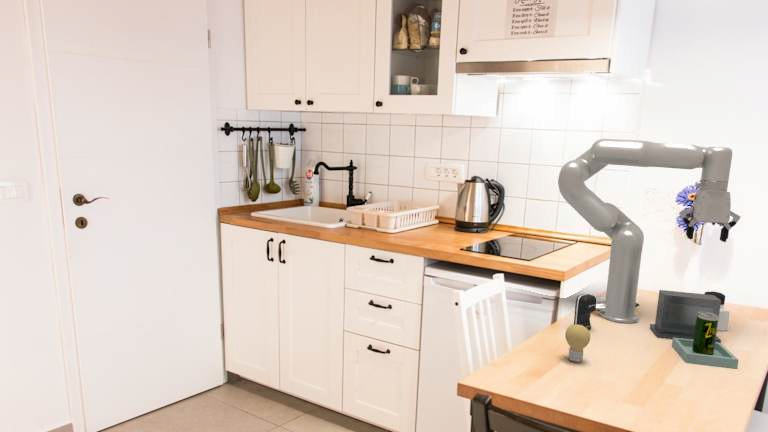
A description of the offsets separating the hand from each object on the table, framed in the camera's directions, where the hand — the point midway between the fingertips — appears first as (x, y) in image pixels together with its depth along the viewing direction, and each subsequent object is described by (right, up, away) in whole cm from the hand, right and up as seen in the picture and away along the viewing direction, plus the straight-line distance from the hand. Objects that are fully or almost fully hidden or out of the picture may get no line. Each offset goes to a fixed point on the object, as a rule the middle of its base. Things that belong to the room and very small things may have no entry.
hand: (706, 239), depth 177 cm
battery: (-39, -29, 0) cm, 49 cm away
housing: (-8, -31, -1) cm, 31 cm away
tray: (-11, -33, -18) cm, 39 cm away
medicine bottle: (+6, -30, +9) cm, 32 cm away
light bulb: (-51, -32, -25) cm, 65 cm away
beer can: (-11, -32, -18) cm, 39 cm away
